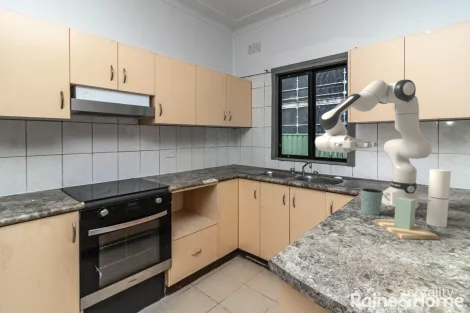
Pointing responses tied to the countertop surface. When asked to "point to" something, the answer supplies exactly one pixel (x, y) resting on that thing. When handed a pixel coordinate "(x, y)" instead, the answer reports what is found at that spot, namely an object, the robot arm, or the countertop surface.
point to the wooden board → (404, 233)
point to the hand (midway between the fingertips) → (373, 144)
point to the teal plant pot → (371, 201)
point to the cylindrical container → (438, 197)
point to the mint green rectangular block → (405, 213)
